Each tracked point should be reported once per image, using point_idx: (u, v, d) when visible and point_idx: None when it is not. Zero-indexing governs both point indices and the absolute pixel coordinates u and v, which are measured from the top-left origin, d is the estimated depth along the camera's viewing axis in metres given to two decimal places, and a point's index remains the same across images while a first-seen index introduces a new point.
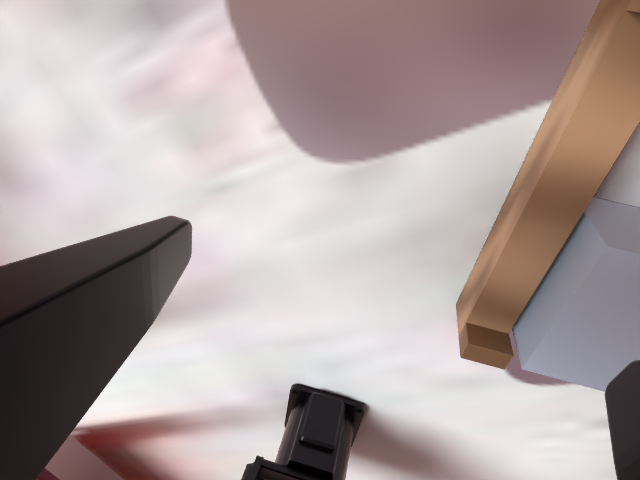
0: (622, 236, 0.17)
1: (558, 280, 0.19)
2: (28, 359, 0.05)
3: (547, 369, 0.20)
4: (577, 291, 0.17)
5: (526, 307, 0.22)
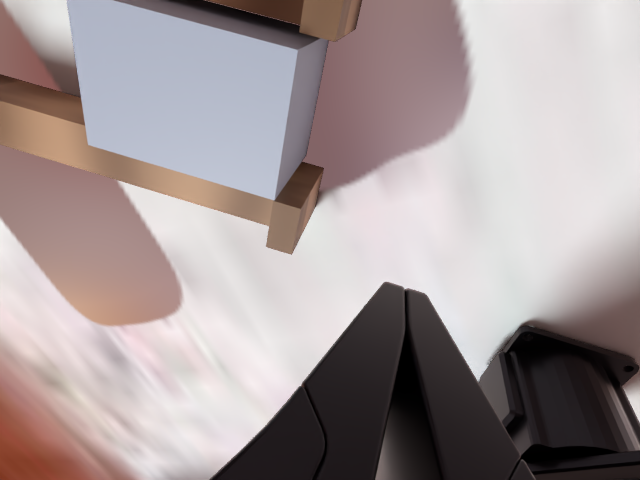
0: None
1: None
2: None
3: (266, 171, 0.15)
4: (144, 160, 0.16)
5: None
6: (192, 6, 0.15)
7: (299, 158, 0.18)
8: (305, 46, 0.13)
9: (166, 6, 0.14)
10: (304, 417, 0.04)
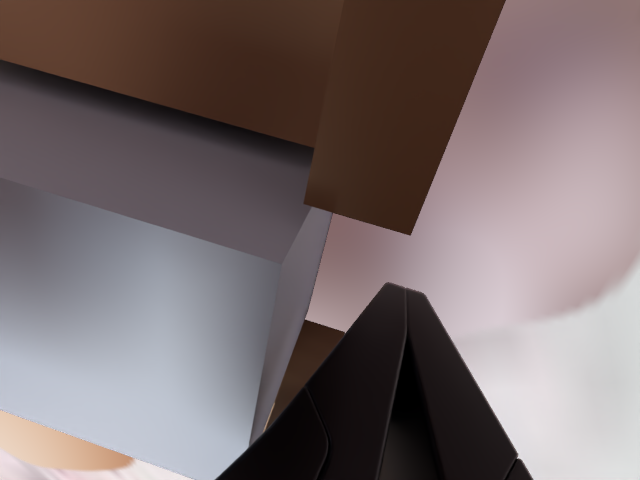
0: None
1: None
2: None
3: (219, 457, 0.07)
4: None
5: None
6: (52, 84, 0.07)
7: (295, 341, 0.10)
8: (306, 218, 0.05)
9: None
10: (307, 418, 0.04)
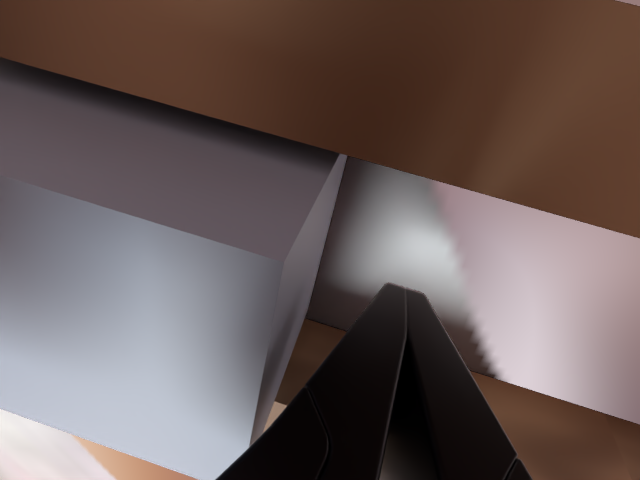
0: None
1: None
2: None
3: (219, 456, 0.07)
4: None
5: None
6: (52, 82, 0.07)
7: (295, 340, 0.10)
8: (307, 216, 0.05)
9: None
10: (307, 418, 0.04)
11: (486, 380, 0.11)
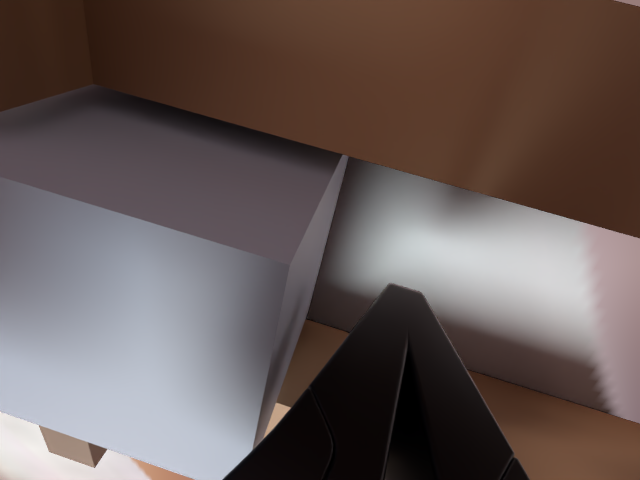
0: None
1: None
2: None
3: (222, 458, 0.07)
4: None
5: None
6: None
7: (296, 341, 0.10)
8: (312, 218, 0.05)
9: None
10: (312, 420, 0.04)
11: (602, 417, 0.11)
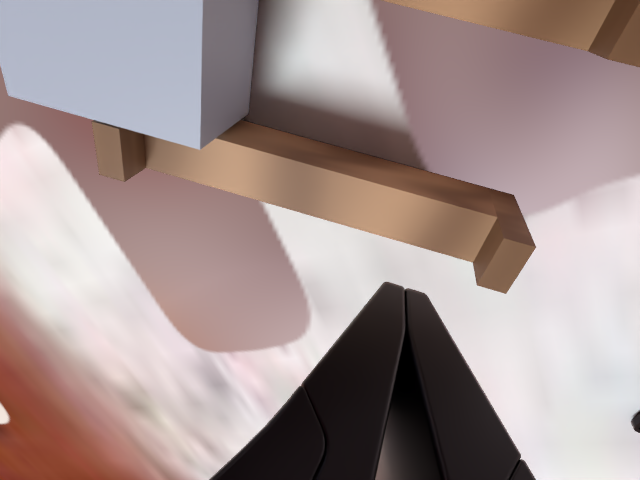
0: None
1: None
2: None
3: (188, 117, 0.14)
4: (65, 110, 0.15)
5: None
6: None
7: (236, 113, 0.17)
8: None
9: None
10: (304, 417, 0.04)
11: (418, 170, 0.18)
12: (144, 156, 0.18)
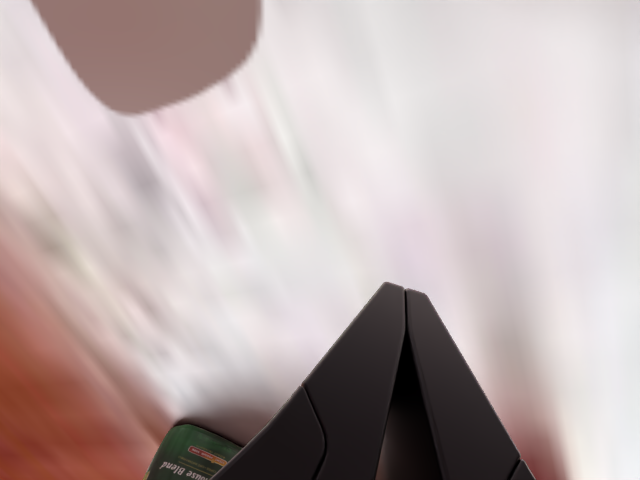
0: None
1: None
2: None
3: None
4: None
5: None
6: None
7: None
8: None
9: None
10: (304, 417, 0.04)
11: None
12: None
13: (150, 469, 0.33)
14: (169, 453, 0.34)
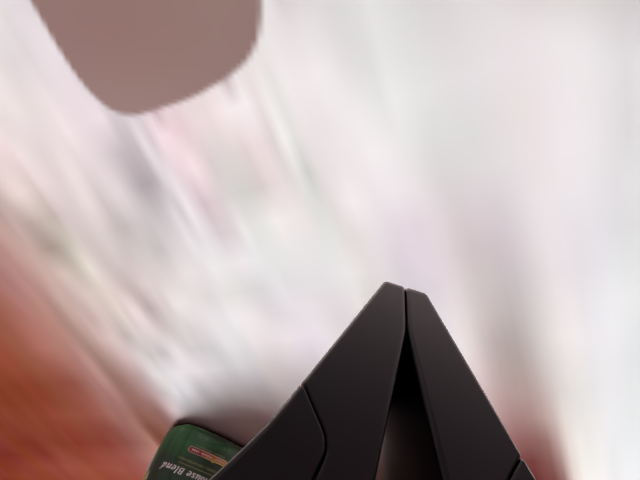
0: None
1: None
2: None
3: None
4: None
5: None
6: None
7: None
8: None
9: None
10: (304, 417, 0.04)
11: None
12: None
13: (150, 469, 0.33)
14: (169, 452, 0.34)
